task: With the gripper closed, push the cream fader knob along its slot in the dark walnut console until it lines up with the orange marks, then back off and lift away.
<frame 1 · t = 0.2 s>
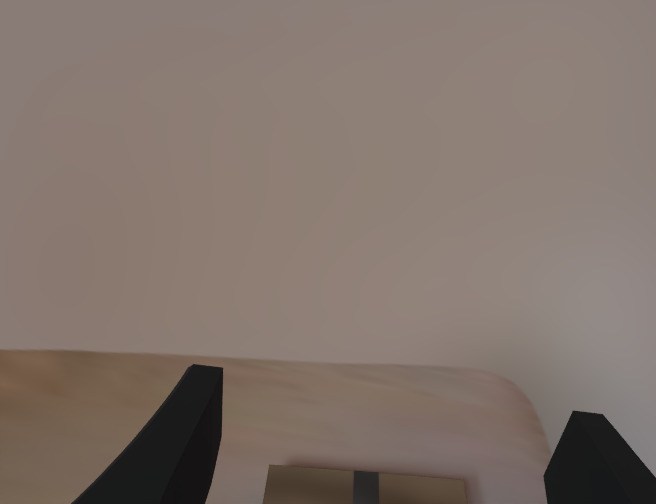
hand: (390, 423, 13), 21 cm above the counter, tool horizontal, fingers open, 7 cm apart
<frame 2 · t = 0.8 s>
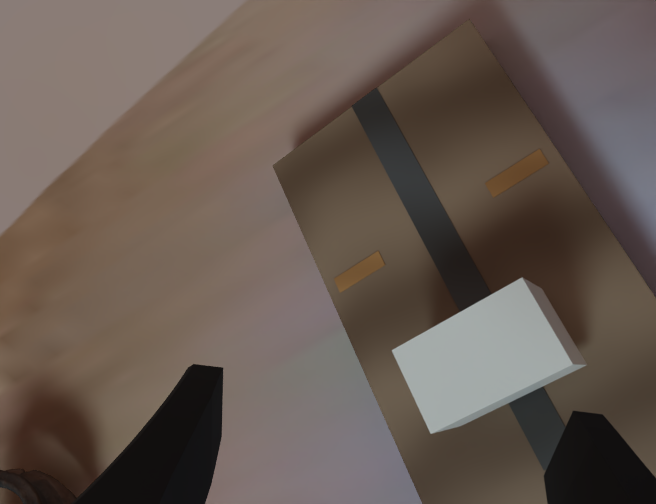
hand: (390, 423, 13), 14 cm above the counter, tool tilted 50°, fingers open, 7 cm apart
console: (482, 294, 26), on the counter
fader: (490, 357, 21), point 4 cm above the counter, slide at 0.0 cm
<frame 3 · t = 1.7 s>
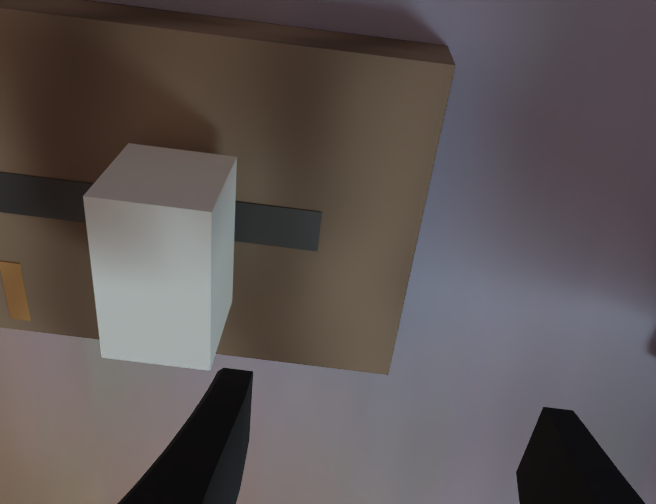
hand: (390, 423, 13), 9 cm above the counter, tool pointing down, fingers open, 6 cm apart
console: (115, 175, 21), on the counter
fader: (171, 253, 17), point 4 cm above the counter, slide at 0.0 cm
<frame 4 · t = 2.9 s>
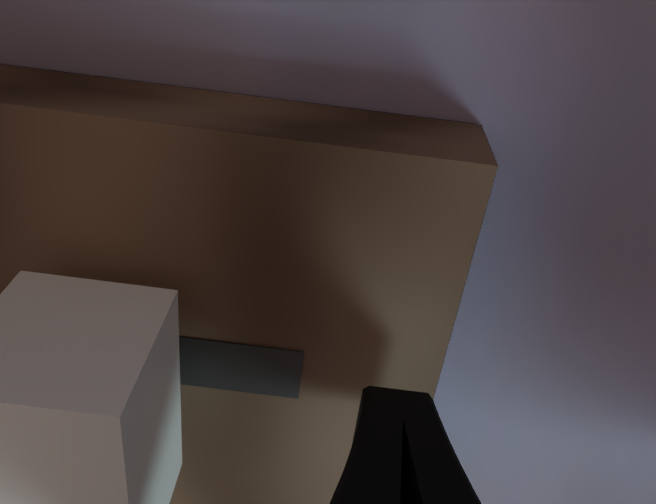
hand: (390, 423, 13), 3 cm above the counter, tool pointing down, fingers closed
console: (29, 284, 15), on the counter
fader: (83, 427, 12), point 4 cm above the counter, slide at 0.0 cm
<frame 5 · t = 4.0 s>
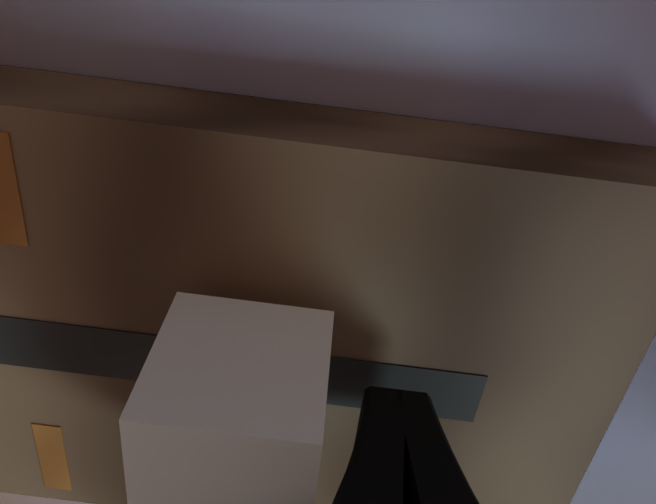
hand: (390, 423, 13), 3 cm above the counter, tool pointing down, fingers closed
console: (188, 305, 15), on the counter
fader: (238, 448, 12), point 4 cm above the counter, slide at 1.0 cm, touching gripper
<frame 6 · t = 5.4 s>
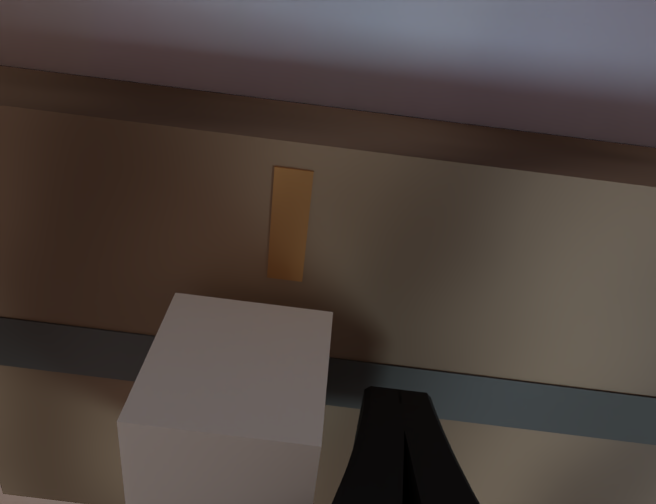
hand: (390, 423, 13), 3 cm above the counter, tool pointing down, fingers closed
console: (407, 333, 15), on the counter
fader: (236, 450, 12), point 4 cm above the counter, slide at 6.5 cm, touching gripper
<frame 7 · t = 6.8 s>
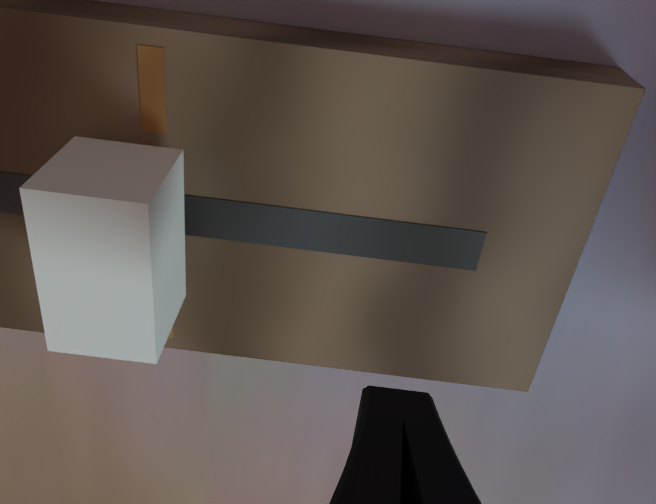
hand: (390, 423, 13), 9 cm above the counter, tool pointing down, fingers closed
console: (264, 194, 21), on the counter
fader: (118, 246, 17), point 4 cm above the counter, slide at 6.5 cm
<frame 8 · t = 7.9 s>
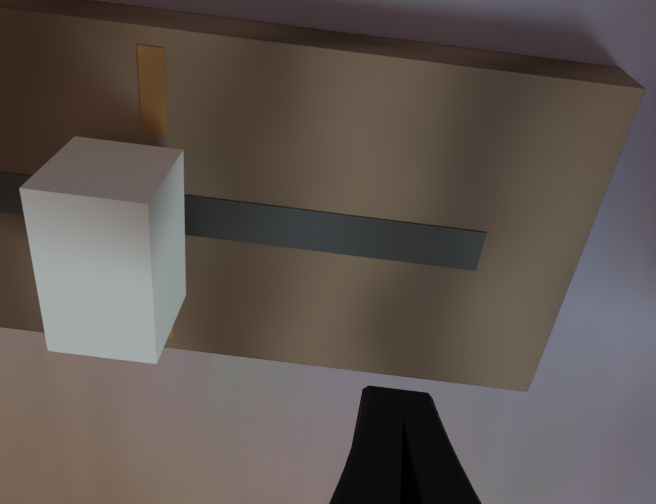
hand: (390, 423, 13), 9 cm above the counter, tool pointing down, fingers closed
console: (264, 194, 21), on the counter
fader: (118, 246, 17), point 4 cm above the counter, slide at 6.5 cm
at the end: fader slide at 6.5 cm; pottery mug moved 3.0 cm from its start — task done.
